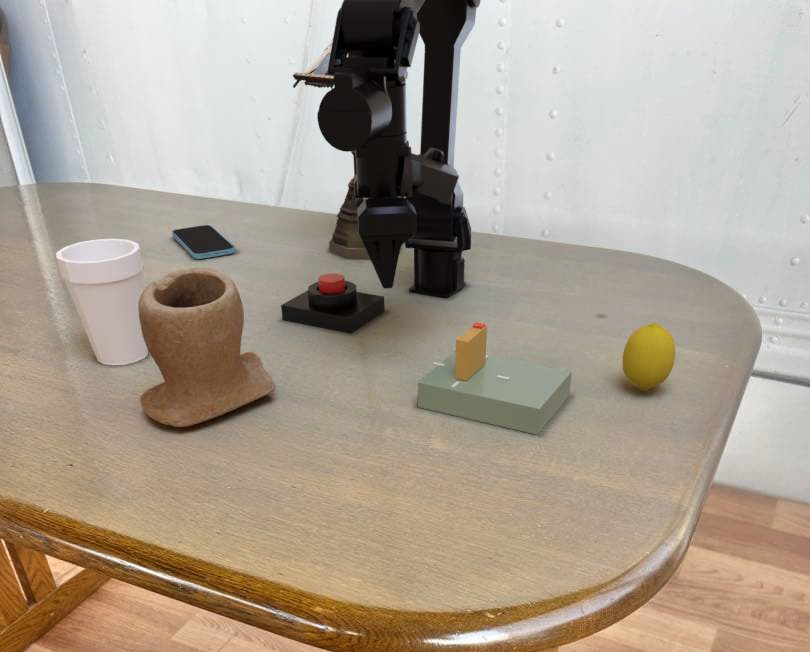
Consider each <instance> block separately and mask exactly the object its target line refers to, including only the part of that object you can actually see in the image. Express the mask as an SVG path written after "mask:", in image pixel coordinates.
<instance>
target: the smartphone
mask: <svg viewBox="0 0 810 652" xmlns="http://www.w3.org/2000/svg"><path fill="white" fill-rule="evenodd" d="M171 234H172V235H171V236H172V237H173V238H174V240H176V242H178V244H179V245H180V246H181V247H182V248H183V249H184V250H185V251H186V252H187V253H188V254H189V255H190V256H191V257H192V258H193V259H196V260H200V259H208V258H215V257H219V256H220V257H221V256H226V255H230V254H234V253H236V248H235V245H234V244H232V242H230V241H229V240H228V239H227V238H226V237H225V236H224V235H223V234H221V233H220V232H219V231H218V230H217V229H216V228H214V227H213V226H212V225H211V224H203V225H195V226H188V227H182V228H177V229H176V228H175V229H173V230H172V231H171Z"/></svg>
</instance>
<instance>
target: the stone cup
mask: <svg viewBox="0 0 810 652" xmlns="http://www.w3.org/2000/svg"><path fill="white" fill-rule="evenodd" d="M138 310H139V319H140V325H141V330H142V334H143V338H144V341H145V344H146V346H147V348H148V353H149V354H150V356H151V357H152V359H153V361H154V363H155V364H156V366H157V367H158V369H159V371H160V373H161V375H162V379H163V382H161V383H159V384H156V385H154V386H153V387H151V388H148V389H147V390H145V391H144V392H143V393H142V394H141V396H140V398H139V404H140V406H141V407H142V408H141V409H142V410H143V412H144V413H145V414H146V415H147V416H148V417H149V418H150V419H152V420H154V421H155V422H157V423H159V424H162V425H166V426H172V427H175V428H185V427H190V426H191V427H192V426H194V425H197V424H200V423H203V422H206V421H210V420H211V419H215V418H217V417H220V416H223V415H224V414H227V413H230V412H232V411H234V410H237V409H238V408H241V407H243V406H245V405H248V404H250V403H252V402H254V401H257V400H259V399H260V398H263V397H266V396H268V395H270V394H272V393H274V392H275V391H276V385H275V382H274V380H273V379H272V377H271V376H270V375H269V373H268V372H267V370H266V369H265V367H263V361H262V358H261V357H260V356H259V355H258V354H257V353H254V352H252V351H247V352H246V351H245V352H243V353H241V350H242V349H241V348H242V338H243V337H242V336H243V332H244V324H245V323H244V322H245V312H244V306H243V302H242V299H241V294H240V292H239V290H238V288H237V287H236V283H235V282H234V280H233V279H232V278H231V277H229V275H228V274H226V273H223V272H222V271H219V270H217V269H213V268H208V267H189V268H180V269H177V270H174V271H171V272H169V273H167V274H166V275H164V276H162V278H160V279H158V280H156V281H152V282H150V283H149V284H148V285H146V287H145V288H144V291H143V293H142V294H141V296H140V299H139V305H138Z"/></svg>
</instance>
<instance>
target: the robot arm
mask: <svg viewBox="0 0 810 652" xmlns="http://www.w3.org/2000/svg"><path fill="white" fill-rule="evenodd" d="M481 1H482V0H343V1H342V3H341V6H340V8H339V9H338V12H337V13H336V20H335V26H334V32H333V37H332V38H333V42H332V48H331V54H330V60H329V66H328V74H329V75H331V76H334V86H333V87H332V88H333V89H331V88H330V90H329V91H327V92H325V94H324V95H323V97H322V99H321V101H320V103H319V107H318V111H317V112H316V113H317V124H318V128H319V130H320V133H321V135H322V137H323V138H324V140H325V141H326V142H327V143H328V144H329V145H330V146H331V147H333V148H334V149H336V150H338V151H341V152H346V153H347V152H351V151H354V150H355V153H356V171H357V174H356V175H355V176H354V175H353V177H354V192H355V198H356V206H357V215H358V230H359V235H360V238H361V240H362V242H363V244H364V246H365V249H366V251H367V253H368V255H369V257H370V259H369V260H370V262H371V264H372V267H373V268H374V271H375V273H376V276H377V277H378V280H379V282H380V284H381V287H382V289H385V290H386V289H388V290H389V289H392V288H393V287H394V282H395V277H396V272H397V268H398V267H397V266H398V262H399V257H400V252H401V248H402V246H403V245H404V248H405V249H413V284H412V285H411V286H409V288H408V291H409V292H410V293H416V294H421V295H427V296H433V297H438V298H439V297H440V298H445V299H448V298H450V297H451V296H453V295H454V294H456V293H457V292H458V291H460V290H461V289H462V288H463V287H465V286H466V283H467V282H466V281H465V257H464V256H463V254H462V253H464V252H465V251H469V250H471V249H472V226H471V223H470V220H469V217H468V213H467V210H466V207H465V206H464V192H463V189H462V188H461V185H460V183H459V178H460V175H459V173H458V171H457V169H455V168H454V166H455V165H454V164H455V151H456V149H455V147H456V134H457V133H456V131H457V116H458V115H457V114H458V101H459V98H458V97H459V84H460V67H461V66H460V65H461V52H462V51H461V50H462V47H463V45H465V41H466V40H467V38H468V37H469V35H470V34H471V32H472V30H473V29H474V27H475V24H476V17H477V9H478V8H479V7H480V5H481ZM419 36H420V38H421V40H422V42H423V44H424V55H423V78H422V101H421V123H420V124H421V126H420V146H419V147H420V149H419V150H420V151H419V153H418V154H416V153H412V147H411V146H410V142H409V140H408V128H407V123H408V122H407V82H406V80H407V79H408V77H409V72H408V68H412V63H413V59H414V57H415V51H416V47H417V43H418V40H419ZM347 54H348V57H347Z"/></svg>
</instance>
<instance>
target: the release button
mask: <svg viewBox="0 0 810 652" xmlns="http://www.w3.org/2000/svg"><path fill="white" fill-rule="evenodd" d="M345 281H346V277H345V275H344V274H341V273H333V272H332V273H325V274H321V275H320V276H318V278H317V282H318V285H319V292H323V293H338V292H343V291H344V290H345Z"/></svg>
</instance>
